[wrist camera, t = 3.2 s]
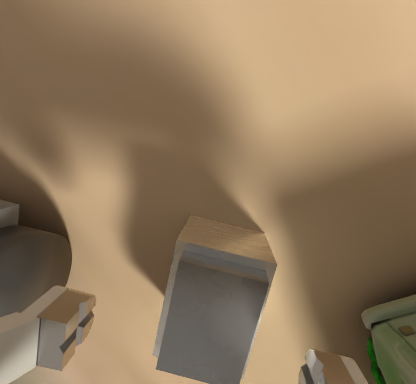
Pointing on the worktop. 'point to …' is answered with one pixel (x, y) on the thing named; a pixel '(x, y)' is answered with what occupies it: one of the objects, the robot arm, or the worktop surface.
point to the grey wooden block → (213, 301)
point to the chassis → (28, 261)
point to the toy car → (392, 340)
